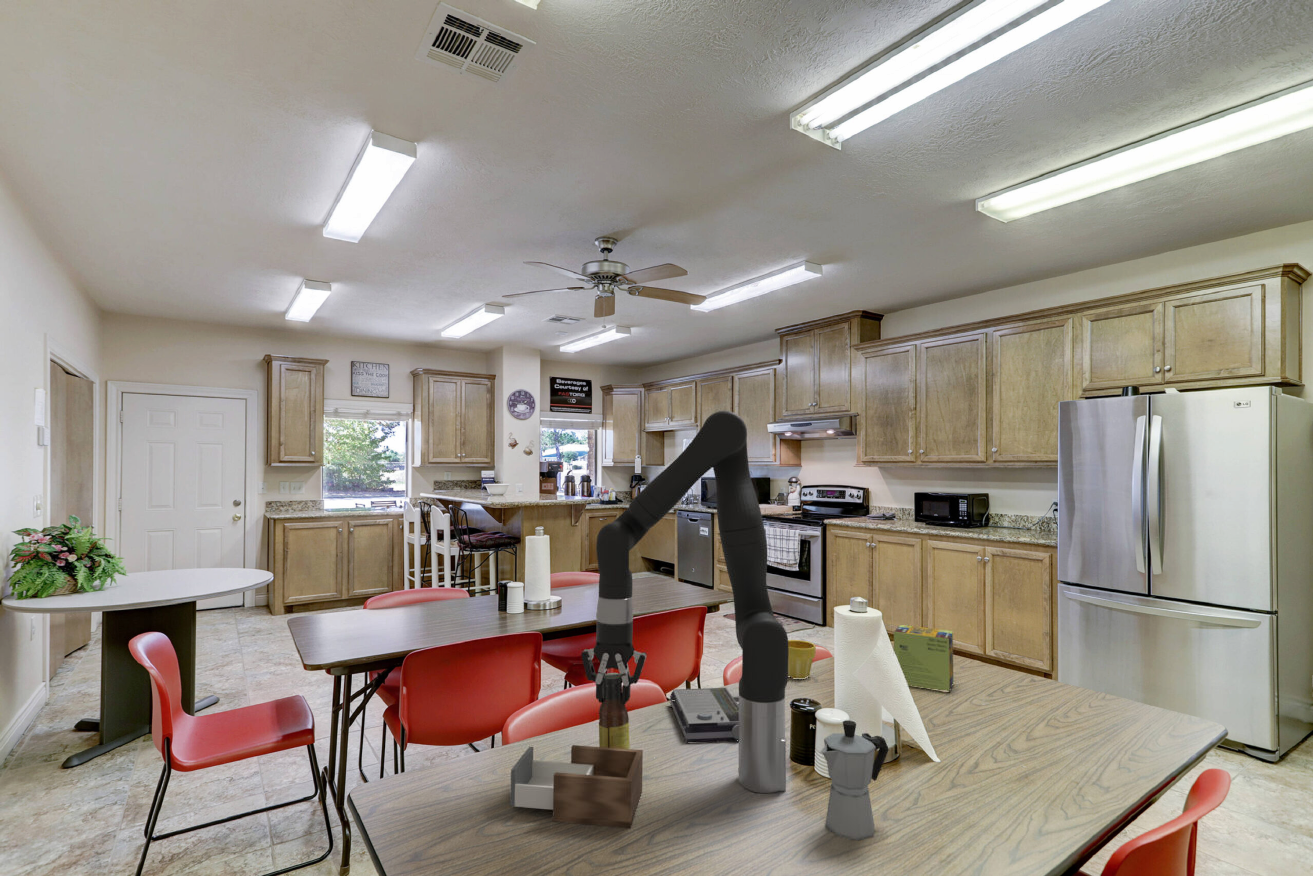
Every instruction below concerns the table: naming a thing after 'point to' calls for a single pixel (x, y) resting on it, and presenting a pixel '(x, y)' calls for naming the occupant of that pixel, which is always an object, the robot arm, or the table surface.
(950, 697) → the table surface
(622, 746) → the sauce bottle
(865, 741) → the coffee maker
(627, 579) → the robot arm
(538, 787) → the tray
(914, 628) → the protein box
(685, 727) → the radio
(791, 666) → the plant pot
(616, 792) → the caddy
